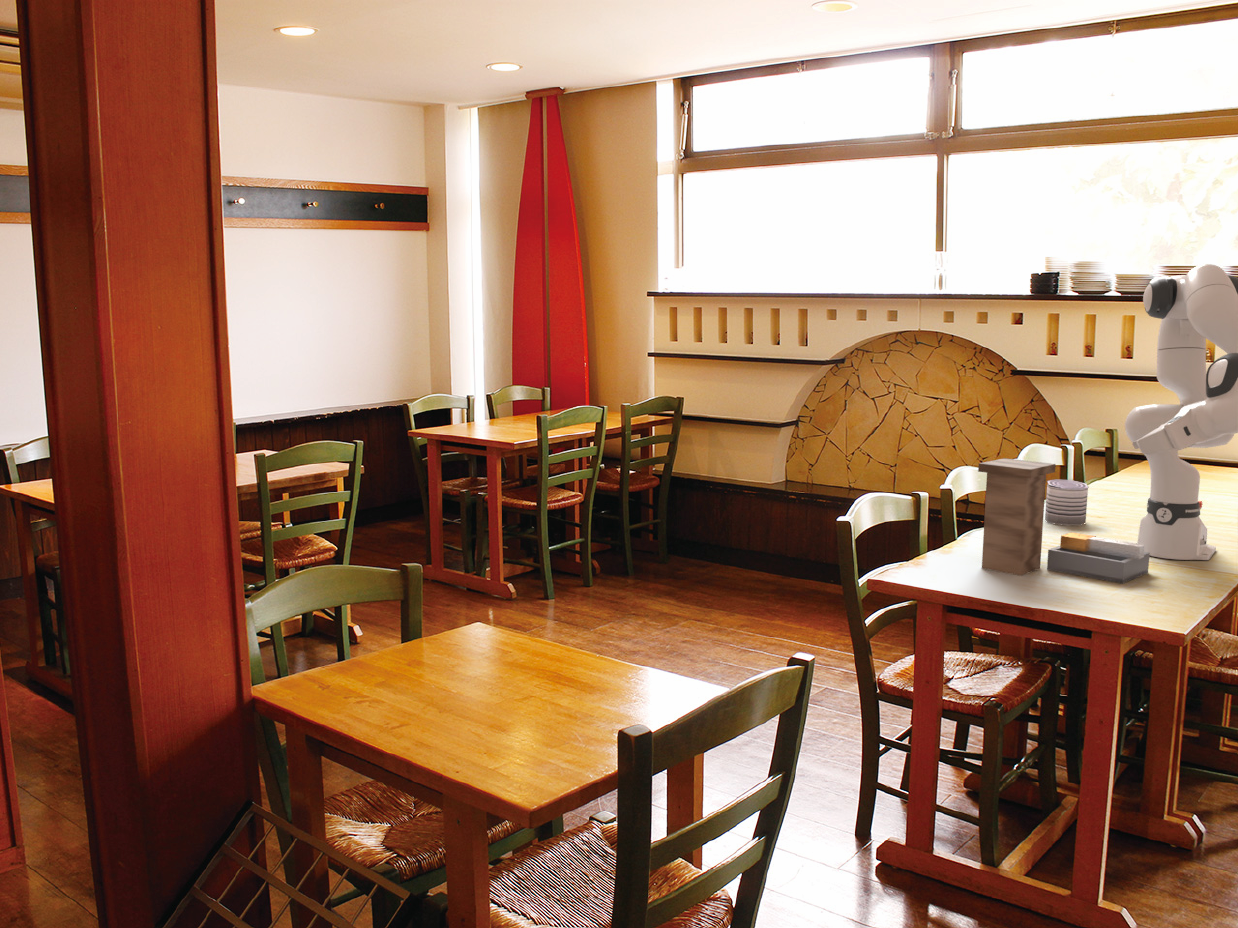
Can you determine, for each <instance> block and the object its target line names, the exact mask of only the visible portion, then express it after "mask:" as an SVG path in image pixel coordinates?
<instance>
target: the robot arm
mask: <svg viewBox="0 0 1238 928" xmlns="http://www.w3.org/2000/svg"><path fill="white" fill-rule="evenodd" d="M1142 297H1143V298H1142V302H1143V306H1144V309H1145V310H1144V311H1145V313H1146V314H1147V315H1148V316H1149V317H1152V318H1155V319H1159V320H1160V319H1161V320H1160V324H1159V325H1160V326H1159V330H1158V336H1157V348H1156V379H1157V381H1158V382H1159V384H1160V385H1161V386H1162V387H1163V388H1165V389H1167V390H1168V391H1171V392H1173V393H1175V394H1176V396H1177V398H1178V400H1179V404H1172V403H1171V404H1169V403H1168V404H1167V403H1166V404H1165V403H1164V404H1163V403H1160V404H1159V403H1153V404H1147V405H1146V404H1145V405H1141V406H1135V407H1133V408H1132V409H1131V410H1130V411H1129V413H1128V414H1127V416H1126V418H1125V422H1124V430H1125V435H1126V437H1128V440H1130V441H1131V443H1132V447H1133V448H1134V450H1135V449H1136V450H1138V449H1139V450H1140V452H1141V454H1143V455H1144V457H1146V460H1147V463H1148V465H1149V470H1150V493H1149V498H1148V499H1147V502H1146V512H1147V513H1146V514H1145V516H1143V517H1142V518H1141V519H1140V522H1139V528H1138V535H1137V543H1136V544H1142V545H1145V550H1144V552H1149V553H1150V555H1149V557H1150V556H1151V557H1155V558H1160V559H1167V560H1169V559H1170V560H1182V561H1184V560H1185V561H1188V560H1190V561H1192V560H1197V561H1209V560H1211V558H1212V557H1213V555H1214V554H1215V552H1216V551H1217V549H1216V548H1217V547H1216V546H1214V545H1211V544H1207V543H1208V542H1207V541H1208V528H1207V526H1206V525H1205V524H1204V522H1203V521H1202V519H1201V518H1200V516H1201V509H1202V508H1203V501H1202V500H1199V493H1200V481H1201V480H1200V479H1201V475H1200V472H1199V471H1198V469H1197V467H1195V466H1194V465H1193V464H1190V463H1189V462H1187V461H1185V460H1183V459H1181V458H1180V456H1179V451H1182V450H1184V449H1188V448H1193V449H1194V448H1197V449H1199V448H1200V449H1206V448H1213V447H1214V448H1215V447H1220V446H1225V445H1227V444H1229V442H1230V441H1231V440H1232V439H1233V438H1234V436H1235V434H1238V277H1237V276H1234V275H1229V274H1227V273H1226V271H1224V269H1223V268H1221V267H1219V266H1218V265H1215V264H1209V263H1206V264H1201V265H1198V266H1195V267H1194V268H1192V269H1190V271H1188V272H1187V274H1181V275H1180V274H1179V275H1171V276H1168V275H1163V276H1159V277H1158V276H1157V277H1154V278H1152V279H1151V280H1150V281H1149V282H1148V283H1147V284H1146V287H1145V290H1144V293H1143V296H1142ZM1206 341H1209V342H1211V343H1212V344H1213V345H1215V346H1217V347H1219V348H1220V349H1221V350H1223V352H1225V353H1226V354H1224V355H1222V356H1220V357H1219V358H1217V359H1216V360H1214V361H1213V362H1212V363H1210V365H1209V367H1208V368H1207V359H1206V358H1207V342H1206Z"/></svg>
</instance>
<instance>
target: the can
mask: <svg viewBox="0 0 1238 928" xmlns="http://www.w3.org/2000/svg"><path fill="white" fill-rule="evenodd" d="M1046 482H1047V484H1046V495H1045V511H1044V512H1045V515H1044V521H1045V520H1046V521H1047V522H1050V523H1049V524H1052V523H1055V524H1054V525H1056V524H1062V525H1061V526H1066V525H1081V524H1084V523H1087V511H1088V510H1087V507H1088V506H1087V505H1088V493H1089V488H1090V487H1089V486H1088V484H1087V483H1084V482H1081V481H1076V480H1073V479H1072V480H1071V479H1060V478H1059V479H1057V478H1056V479H1050V480H1046ZM1046 521H1045V522H1046ZM1047 522H1046V523H1047ZM1084 525H1085V524H1084ZM1081 526H1082V525H1081Z"/></svg>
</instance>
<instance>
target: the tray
mask: <svg viewBox="0 0 1238 928" xmlns="http://www.w3.org/2000/svg"><path fill="white" fill-rule="evenodd" d="M1149 565H1150V553H1149V552H1144V558H1141V559H1134V558H1127V557H1121V556H1115V555H1109V554H1103V553H1097V552H1091V551H1086V552H1083V551H1077V550H1071V549H1065V548H1060V545H1058V546H1055V547H1052V548H1049V549H1048V550H1047V564H1046V570H1048V571H1051V572H1052V571H1053V572H1059V573H1064V574H1069V575H1072V576H1080V577H1083V578H1089V579H1095V580H1101V581H1107V582H1111V583H1118V584H1125V583H1127V582H1130V581H1132V580H1135V579H1137V578H1140V577H1142V576H1144V575H1146V574H1149Z"/></svg>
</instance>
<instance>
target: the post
mask: <svg viewBox="0 0 1238 928" xmlns="http://www.w3.org/2000/svg"><path fill="white" fill-rule="evenodd" d="M1056 466H1057V465H1056V463H1051V462H1040V461H1032V460H1024V459H1023V460H1022V459H1013V458H999V459H996V460H995V459H994V460H990V461H989V460H988V461H984V462H979V463H978V467H977V472H980V473H986V482H985V484H986V485H985V486H986V487H985V500H984V501H985V502H984V506H985V507H984V520H983V521H984V522H983V523H984V525H983V539H982V540H983V542H982V556H981V557H982V560H981V569H984V570H988V571H995V572H1000V573H1005V574H1009V575H1010V574H1011V575H1015V576H1019V577H1020V576H1021V577H1022V576H1024V575H1026V574H1029V573H1032V572H1035V571H1037V570H1040V569H1041V562H1042V559H1041V558H1042V548H1043V547H1042V546H1043V545H1042V543H1043V531H1044V530H1043V529H1044V527H1043V526H1044V516H1045V515H1044V512H1045V501H1046V485H1047V484H1046V482H1047V475H1049V474H1054V473H1056Z"/></svg>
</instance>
